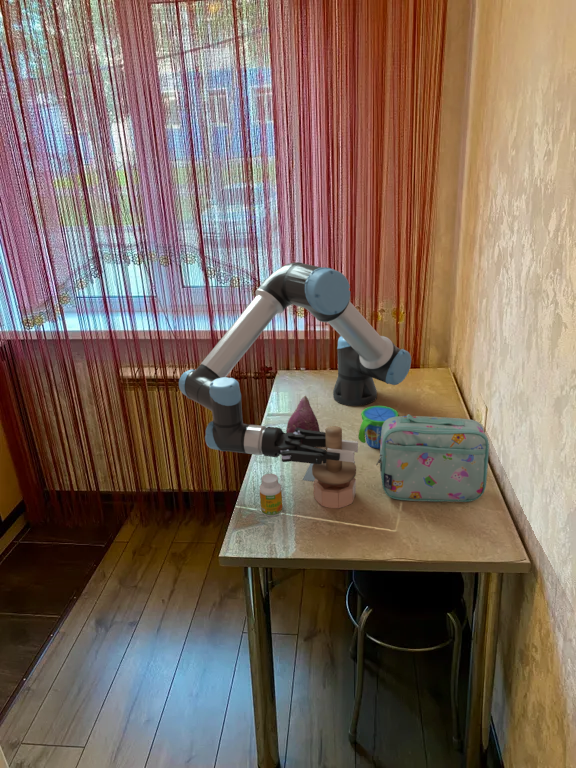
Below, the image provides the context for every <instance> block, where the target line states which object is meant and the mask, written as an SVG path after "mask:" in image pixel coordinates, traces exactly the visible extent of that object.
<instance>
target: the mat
mask: <svg viewBox="0 0 576 768" xmlns="http://www.w3.org/2000/svg"><path fill="white" fill-rule="evenodd" d="M316 460H317V459H316ZM353 463H354V464H355V463H356V461H354V462H353ZM312 466H313V464H311V463H309V465H308V467H307V470H306V472H305V474H304V476H303V477H302V481H306V482H313V483H314V480H315V478H314V476H313V474H312Z"/></svg>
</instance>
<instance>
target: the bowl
mask: <svg viewBox="0 0 576 768" xmlns="http://www.w3.org/2000/svg"><path fill="white" fill-rule="evenodd" d="M356 484H357V482H356V478H355V477H354V478H353V479H352V480H351V481H349V482H347V483H343V484H336V485H332V484H325V483H322V482H320V481H318V480H317V479H315V480H314V482H313V498H314V499H315V500H316V502H317V503H318V504H319V505H321V506H322V507H325V508H329V509H341V508H345V507H347V506H349V505H351V504H353V502H354V500H355V496H356V494H357V493H356V492H357V491H356V487H357V485H356Z"/></svg>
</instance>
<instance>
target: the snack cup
mask: <svg viewBox="0 0 576 768" xmlns="http://www.w3.org/2000/svg"><path fill="white" fill-rule="evenodd" d="M360 416H361V420H362V421H361V424H360V427H359V431H358V441H360V443H363V444H364V443H365V444H367V445H368V446H369V447H370V448H374V449H378V450H380V444H381V430H382V425H383V423H384V422H385V421H386V420H387V419H389V418H392V417H398V416H400V415H399V411H398V410H396V409H394V408H392V407H389V406H385V405H372V406H368V407H366V408H364V409H363V410H362V411H361V413H360Z"/></svg>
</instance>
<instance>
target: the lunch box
mask: <svg viewBox="0 0 576 768" xmlns="http://www.w3.org/2000/svg"><path fill="white" fill-rule="evenodd" d="M489 450H490V441H489V438H488V436H487V435H486V433H485V429H484V426H483V425H482V424H481V423H480V422H479V421H477V420H475V419H474V420H473V419H469V418H460V417H446V416H445V417H442V416H441V417H440V416H424V415H423V416H421V415H411V414H410V413H409V414H407V415H401V416H400V415H399V416H398V417H392V418H389V419H387V420H386V421H385V422H384V423H383V425H382V430H381V444H380V449H379V459H378V461H377V463H376V466H378V464H379V471H380V472H379V473H380V477H381V478H380V479H381V484H382V489H383V491H384V494H386V495H387V496H388V497H390V498H392V499H393V500H400V501H410V502H411V501H412V502H413V501H414V502H448V503H449V502H452V503H453V502H462V503H469V502H474V501H476V500H478V499H480V498H481V497H482V496H483V494H484V493H485V490H486V486H487V478H488V467H489V455H490V453H489Z"/></svg>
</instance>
